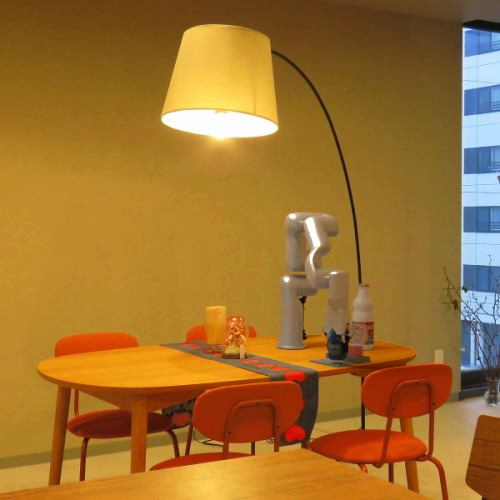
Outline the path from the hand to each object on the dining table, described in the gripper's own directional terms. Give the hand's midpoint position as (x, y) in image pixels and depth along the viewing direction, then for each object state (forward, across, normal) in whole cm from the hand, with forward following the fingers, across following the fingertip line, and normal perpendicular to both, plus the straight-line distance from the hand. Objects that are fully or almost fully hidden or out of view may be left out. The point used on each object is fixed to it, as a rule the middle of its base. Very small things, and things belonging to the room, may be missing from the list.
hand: (337, 351), depth 288 cm
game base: (+5, -6, +12) cm, 14 cm away
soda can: (+3, 0, 0) cm, 3 cm away
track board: (+5, -4, 0) cm, 6 cm away
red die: (+3, -2, +12) cm, 12 cm away
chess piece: (+6, -63, +38) cm, 74 cm away
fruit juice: (+6, -23, +39) cm, 46 cm away
